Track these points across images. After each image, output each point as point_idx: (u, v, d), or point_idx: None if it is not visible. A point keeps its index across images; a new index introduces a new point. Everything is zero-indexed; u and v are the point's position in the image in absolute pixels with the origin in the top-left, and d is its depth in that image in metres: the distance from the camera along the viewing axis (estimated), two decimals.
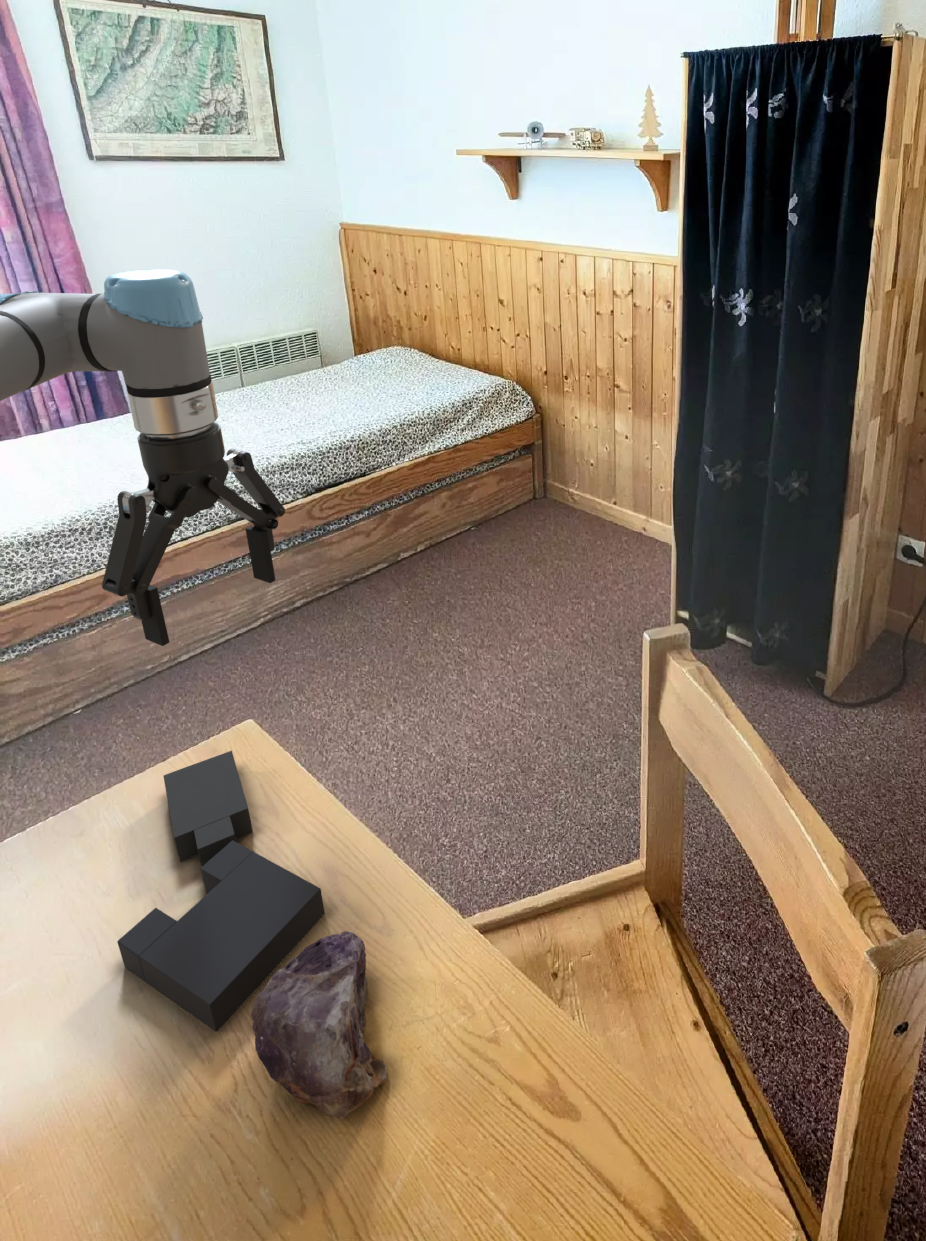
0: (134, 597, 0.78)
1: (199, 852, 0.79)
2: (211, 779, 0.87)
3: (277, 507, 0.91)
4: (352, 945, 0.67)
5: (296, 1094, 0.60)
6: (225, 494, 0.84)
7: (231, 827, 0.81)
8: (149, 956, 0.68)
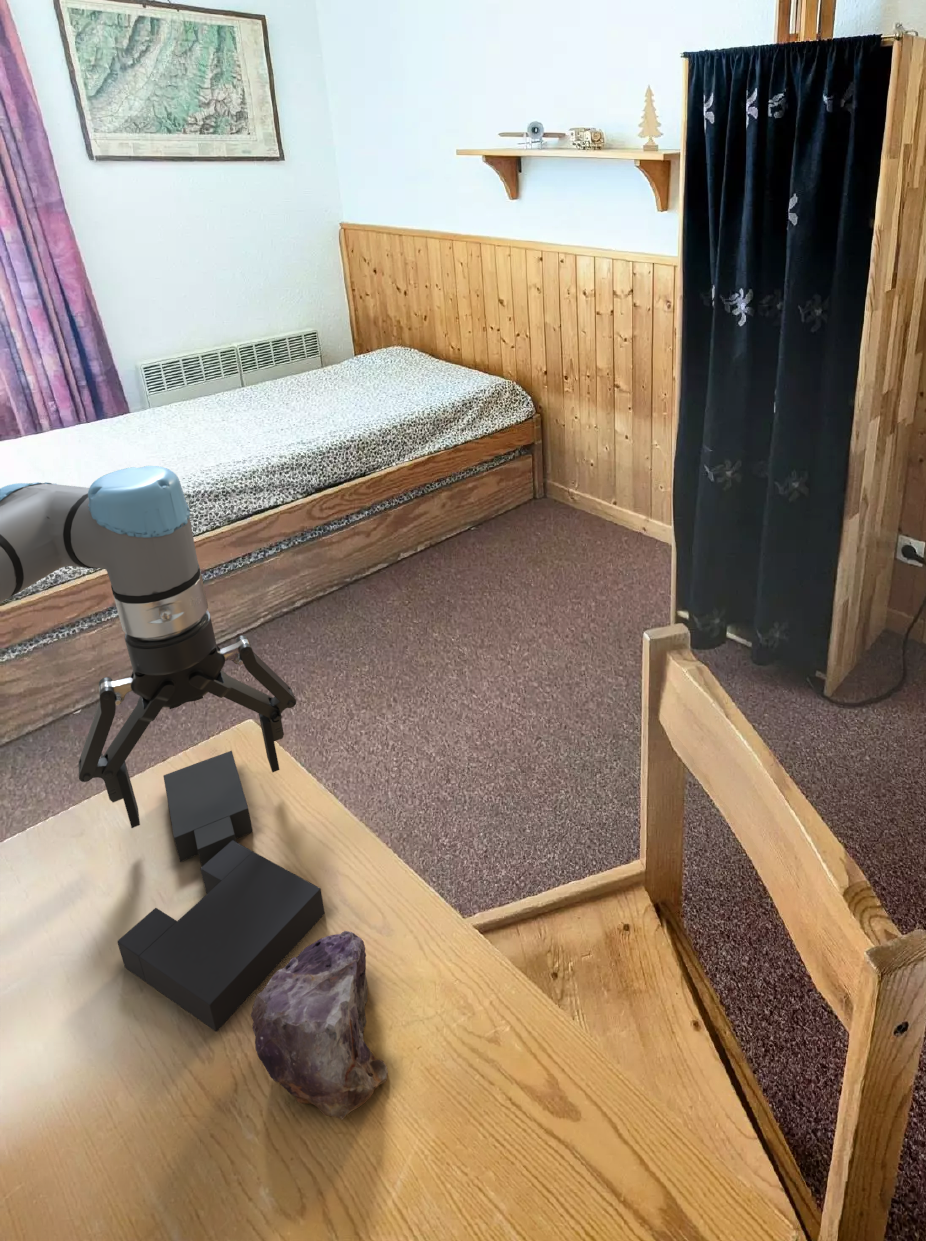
0: (104, 780, 0.78)
1: (199, 852, 0.79)
2: (211, 779, 0.87)
3: (286, 699, 0.86)
4: (352, 945, 0.67)
5: (296, 1094, 0.60)
6: (212, 689, 0.81)
7: (231, 827, 0.81)
8: (149, 956, 0.68)
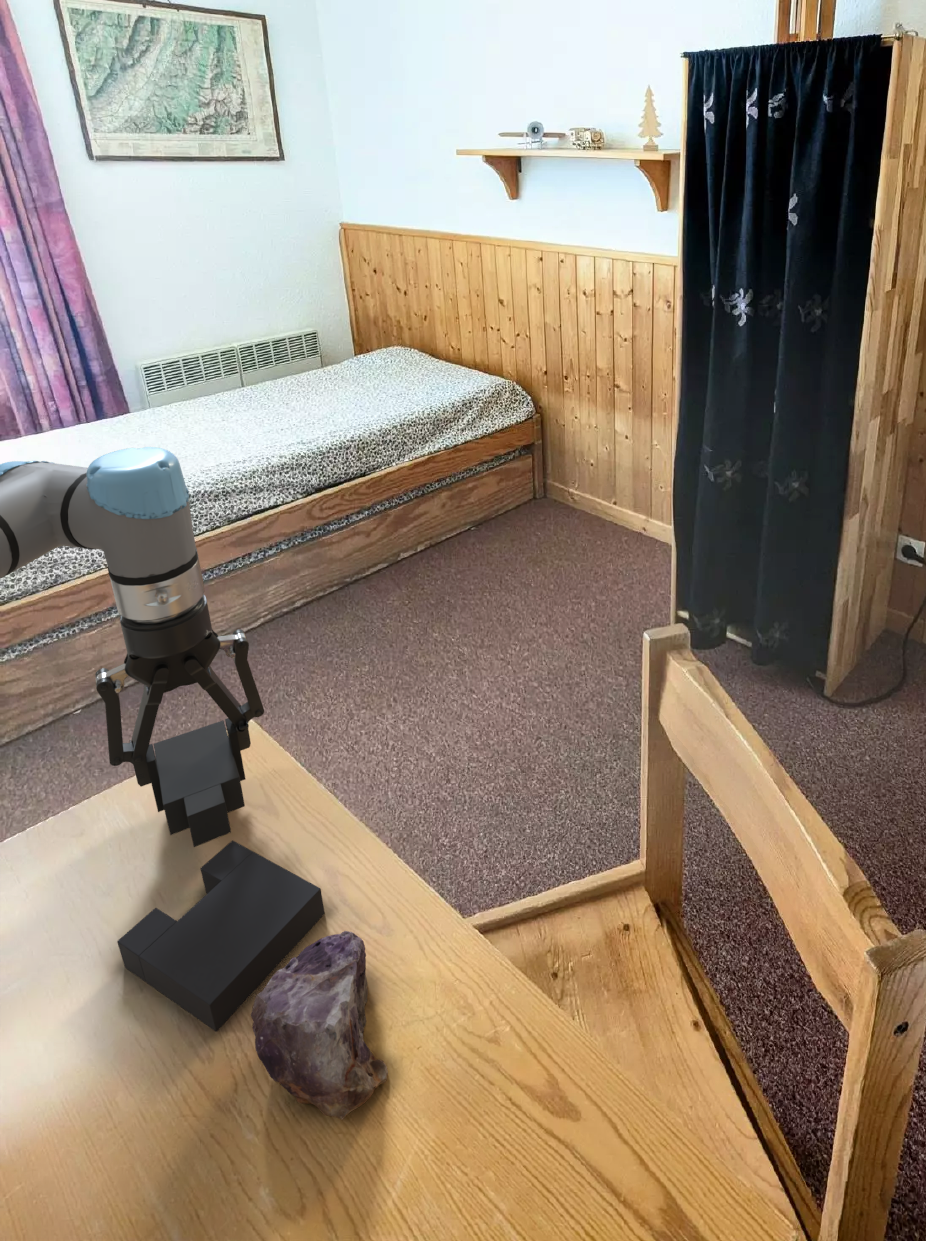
0: (133, 764, 0.80)
1: (189, 819, 0.77)
2: (202, 748, 0.86)
3: (256, 706, 0.85)
4: (352, 945, 0.67)
5: (296, 1094, 0.60)
6: (200, 678, 0.80)
7: (222, 795, 0.80)
8: (149, 956, 0.68)
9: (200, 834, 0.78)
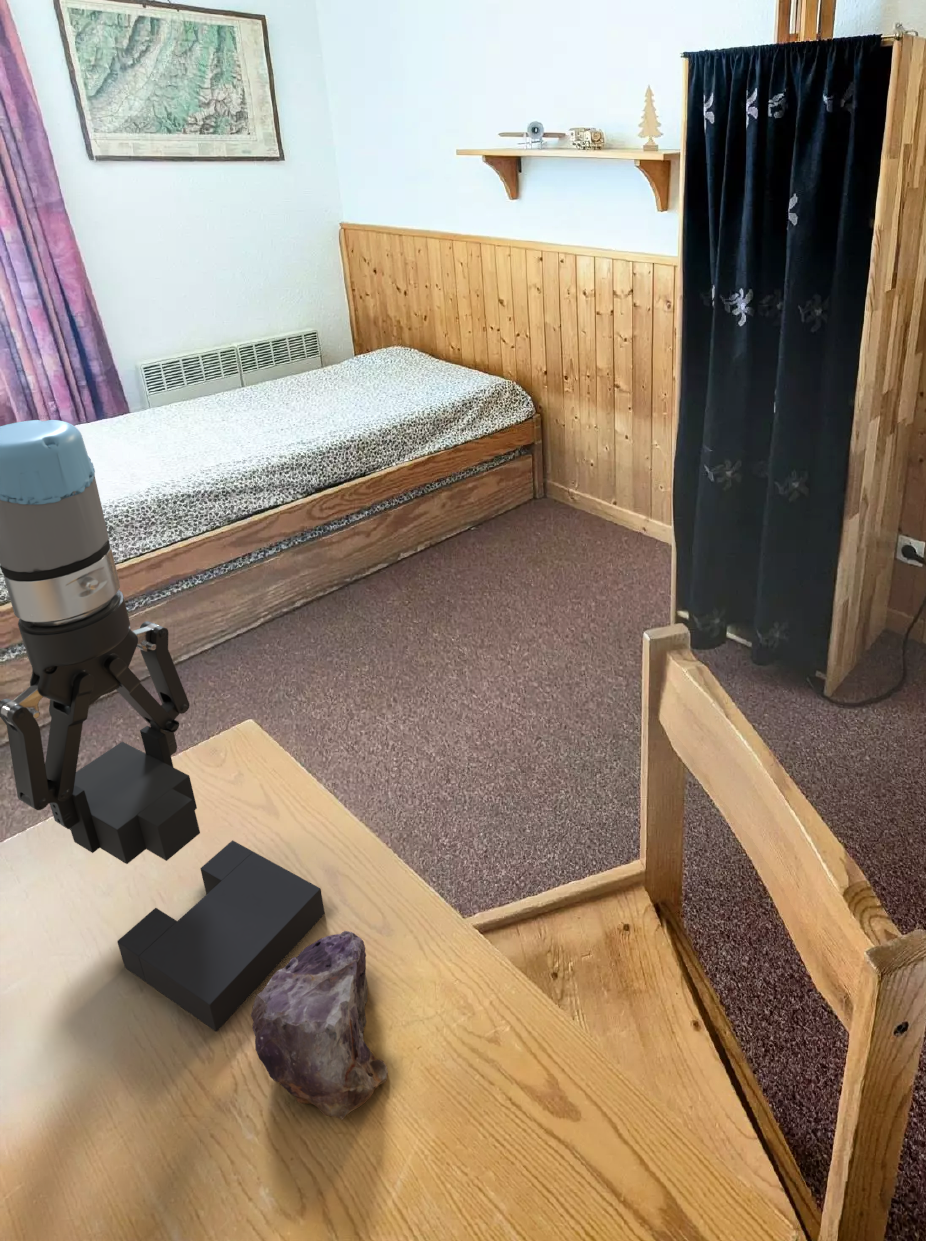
0: (56, 805, 0.68)
1: (159, 829, 0.69)
2: (119, 771, 0.75)
3: (181, 701, 0.76)
4: (352, 945, 0.67)
5: (296, 1094, 0.60)
6: (126, 679, 0.70)
7: (183, 796, 0.72)
8: (149, 956, 0.68)
9: (171, 844, 0.70)
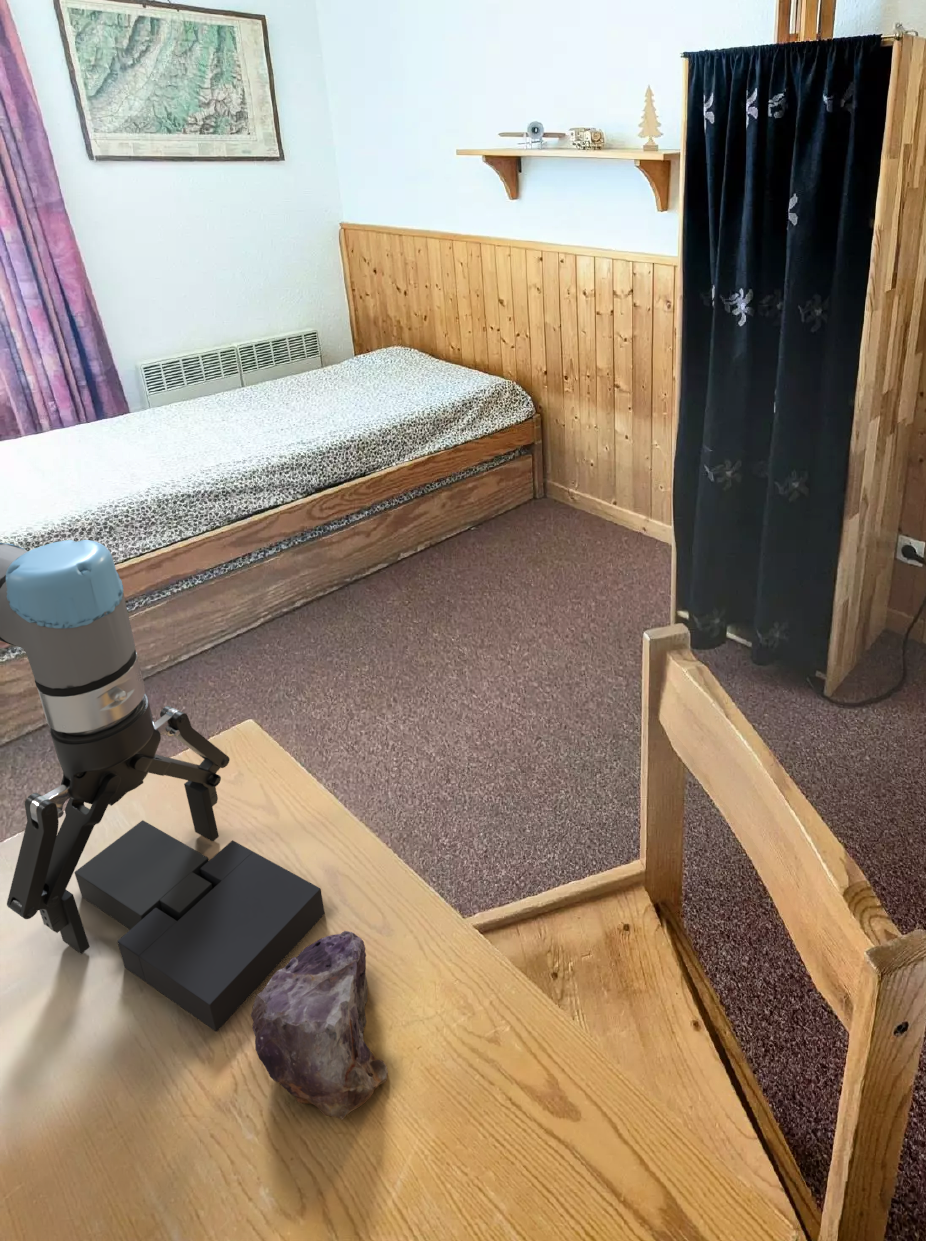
0: (45, 911, 0.68)
1: (181, 915, 0.72)
2: (141, 852, 0.78)
3: (220, 759, 0.82)
4: (352, 945, 0.67)
5: (296, 1094, 0.60)
6: (155, 768, 0.75)
7: (202, 879, 0.75)
8: (149, 956, 0.68)
9: None
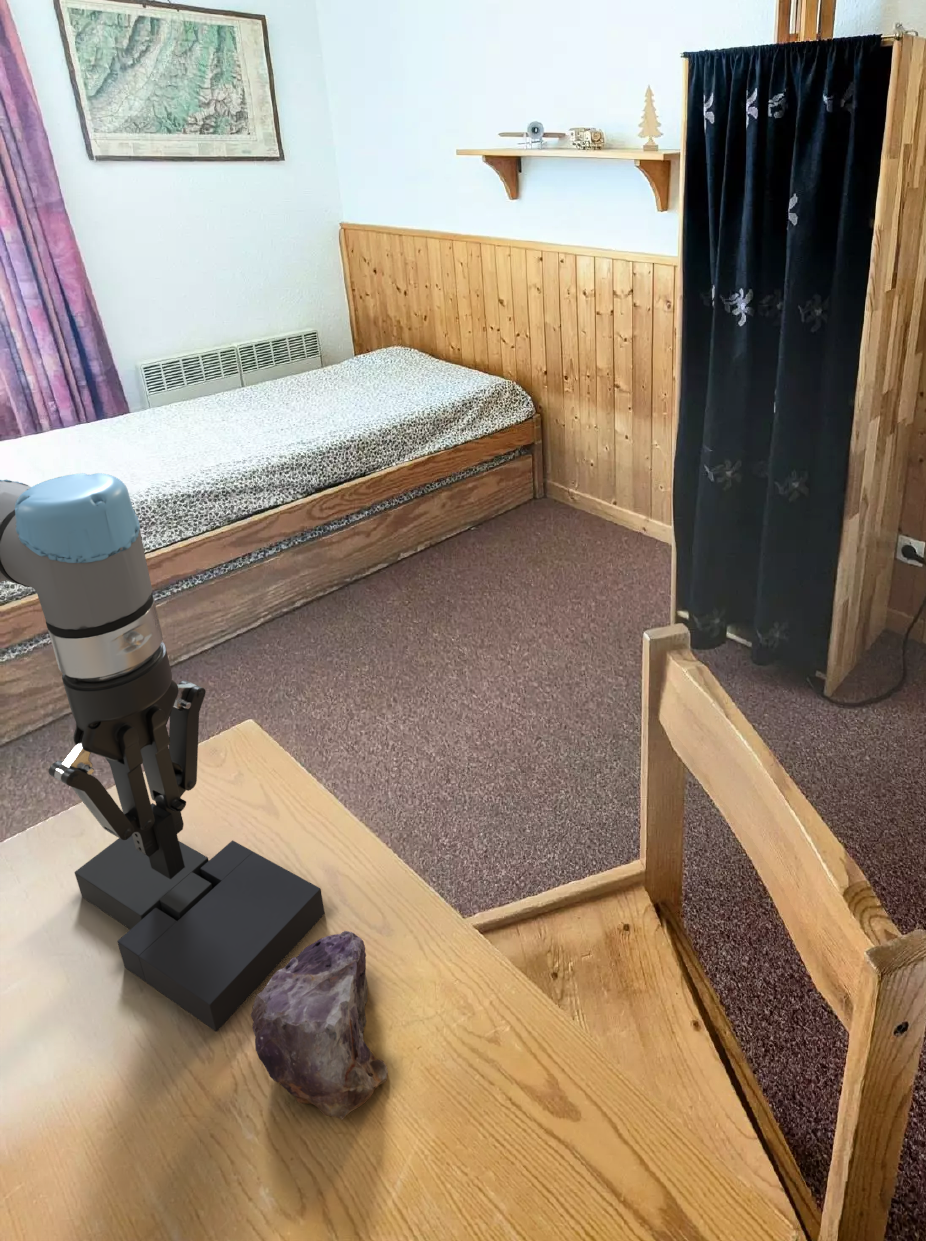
0: (139, 834, 0.70)
1: (181, 915, 0.72)
2: None
3: (190, 776, 0.73)
4: (352, 945, 0.67)
5: (296, 1094, 0.60)
6: (159, 736, 0.69)
7: (202, 879, 0.75)
8: (149, 956, 0.68)
9: None
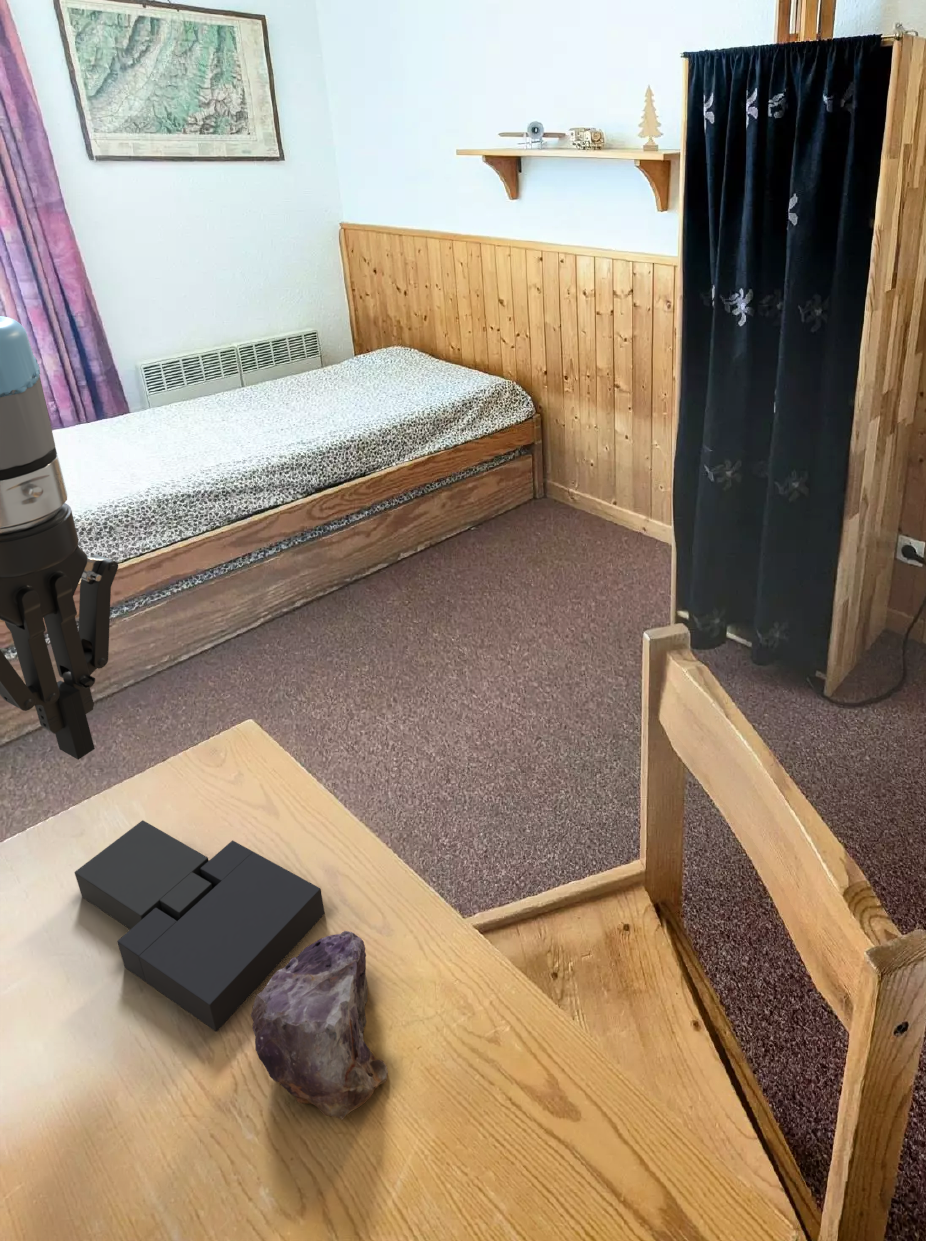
0: (42, 708, 0.67)
1: (181, 915, 0.72)
2: (141, 852, 0.78)
3: (101, 653, 0.70)
4: (352, 945, 0.67)
5: (296, 1094, 0.60)
6: (64, 604, 0.66)
7: (202, 879, 0.75)
8: (149, 956, 0.68)
9: None
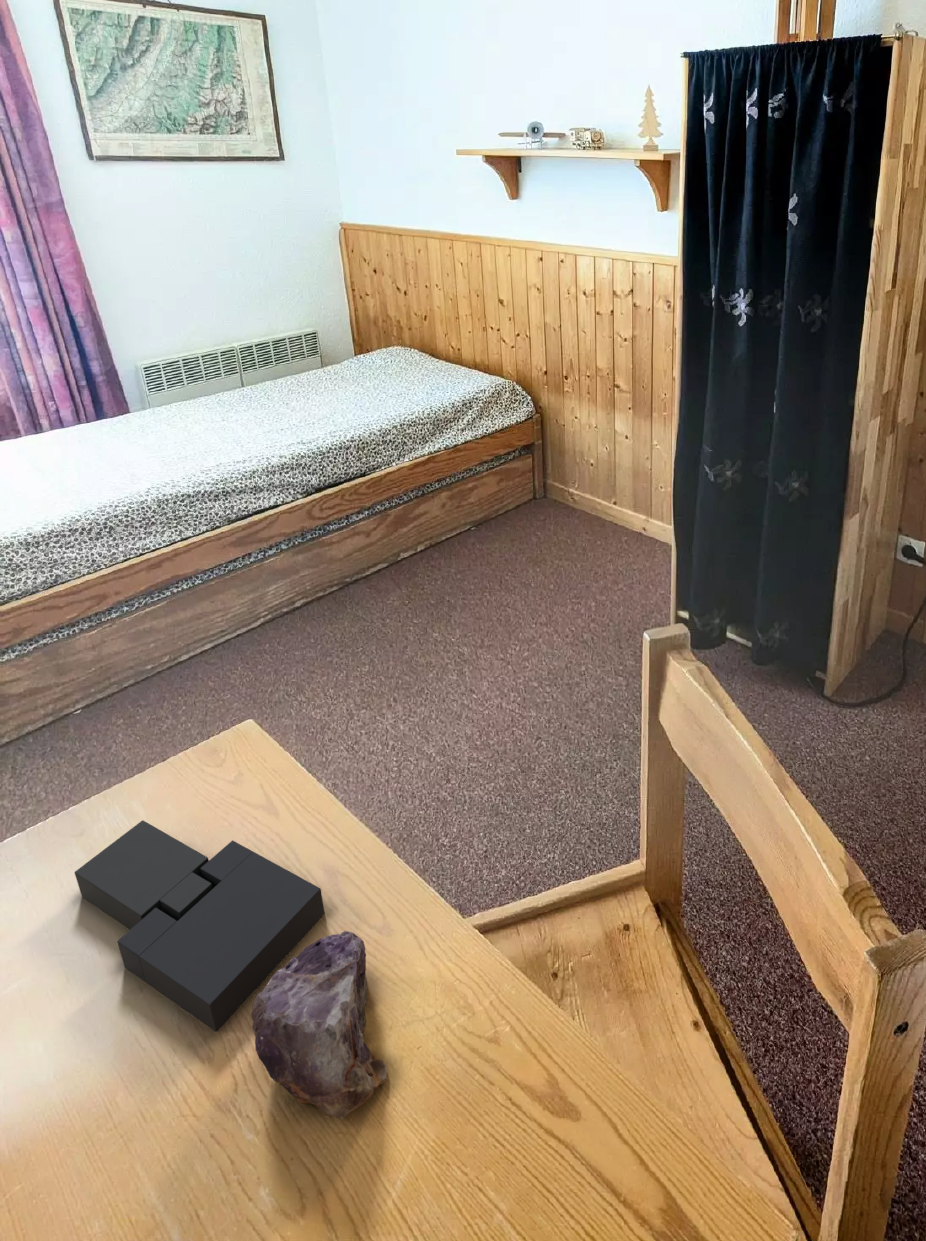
0: None
1: (181, 915, 0.72)
2: (141, 852, 0.78)
3: None
4: (352, 945, 0.67)
5: (296, 1094, 0.60)
6: None
7: (202, 879, 0.75)
8: (149, 956, 0.68)
9: None
